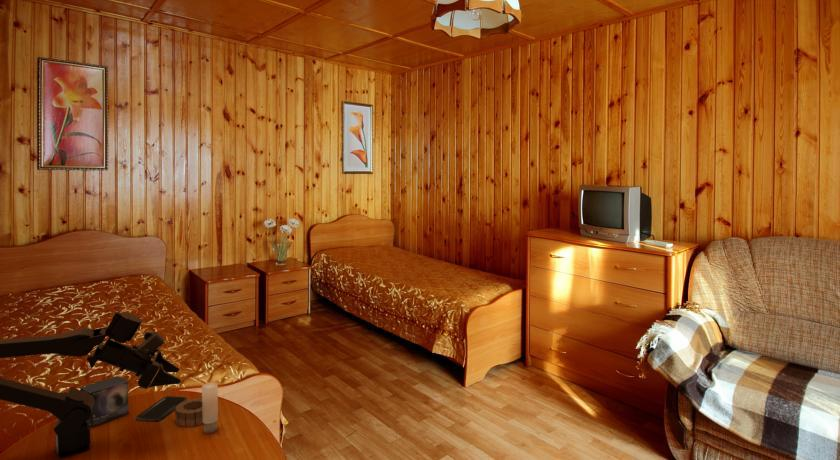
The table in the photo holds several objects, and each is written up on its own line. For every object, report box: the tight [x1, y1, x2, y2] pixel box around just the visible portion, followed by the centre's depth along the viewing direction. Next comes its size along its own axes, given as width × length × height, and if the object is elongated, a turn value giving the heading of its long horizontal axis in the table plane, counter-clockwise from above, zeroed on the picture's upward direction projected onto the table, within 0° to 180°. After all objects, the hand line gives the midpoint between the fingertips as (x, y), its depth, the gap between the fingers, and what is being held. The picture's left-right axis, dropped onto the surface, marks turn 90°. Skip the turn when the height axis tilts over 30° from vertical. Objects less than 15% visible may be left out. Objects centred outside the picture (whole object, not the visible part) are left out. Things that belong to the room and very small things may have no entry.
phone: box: [135, 395, 188, 423], centre depth 148 cm, size 8×1×15 cm
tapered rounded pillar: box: [201, 382, 219, 434], centre depth 136 cm, size 4×4×13 cm
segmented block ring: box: [174, 397, 204, 428], centre depth 143 cm, size 10×10×4 cm
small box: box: [79, 375, 130, 428], centre depth 142 cm, size 11×6×10 cm, turn 148°
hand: (179, 376), depth 136 cm, fingers open, 9 cm apart
